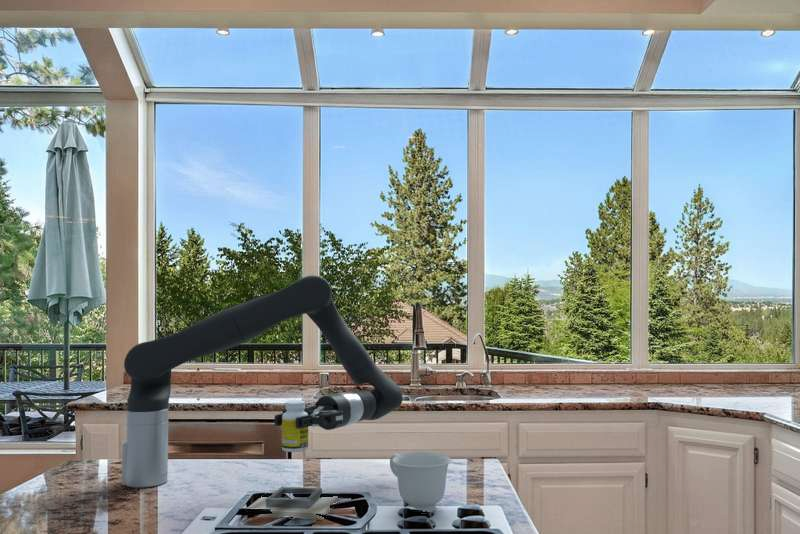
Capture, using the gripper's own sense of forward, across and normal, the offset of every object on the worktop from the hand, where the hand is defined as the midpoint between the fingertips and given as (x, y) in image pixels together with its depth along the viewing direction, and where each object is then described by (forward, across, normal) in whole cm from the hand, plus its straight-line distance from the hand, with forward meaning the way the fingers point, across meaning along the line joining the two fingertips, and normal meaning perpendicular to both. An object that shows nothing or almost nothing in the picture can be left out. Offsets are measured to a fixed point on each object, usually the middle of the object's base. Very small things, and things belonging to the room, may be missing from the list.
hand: (286, 421), depth 129 cm
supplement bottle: (-3, 0, +6) cm, 7 cm away
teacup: (-16, +21, +18) cm, 32 cm away
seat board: (-2, 0, +18) cm, 18 cm away
